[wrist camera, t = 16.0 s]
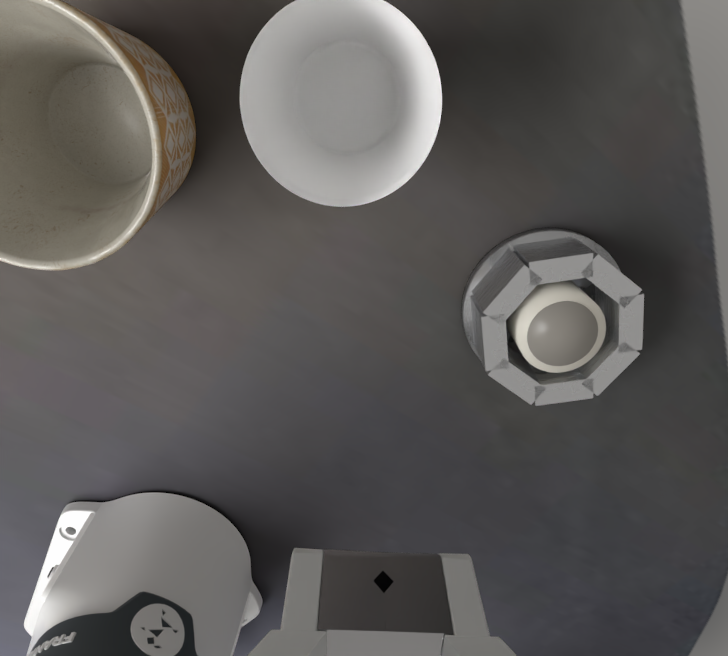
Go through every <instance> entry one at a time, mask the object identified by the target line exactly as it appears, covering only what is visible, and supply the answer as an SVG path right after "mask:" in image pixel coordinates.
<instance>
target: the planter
mask: <svg viewBox="0 0 728 656" xmlns="http://www.w3.org/2000/svg"><path fill="white" fill-rule="evenodd" d="M195 145H196V127H195V119H194V114H193V110H192V107H191V103H190V101H189V98H188V95H187V93H186V91H185V89H184V87H183V85H182V83H181V82H180V80H179V78H178V77H177V75H176V74H175V72H174V71H173V70H172V68H171V67H170V66H169V65H168V63H167V62H166V61H165V60H164V59H163V58H162V57H161V56H160V55H159V54H158V53H157V52H156V51H155V50H153V49H152V48H151V47H150V46H148V45H147V44H145V43H144V42H142V41H141V40H139V39H137V38H136V37H134V36H132V35H130V34H128V33H126V32H124V31H122V30H120V29H118V28H116V27H114V26H112V25H110V24H108V23H106V22H104V21H102V20H100V19H98V18H95V17H93V16H91V15H89V14H87V13H85V12H83V11H81V10H79V9H77V8H75V7H73V6H71V5H69V4H67V3H65V2H63V1H61V0H0V261H3V262H6V263H9V264H12V265H16V266H20V267H24V268H30V269H37V270H67V269H74V268H79V267H83V266H87V265H90V264H93V263H95V262H98V261H100V260H102V259H104V258H106V257H108V256H110V255H112V254H113V253H115V252H116V251H118V250H119V249H120V248H122V247H123V246H124V245H125V244H126V243H128V242H129V241H130V240H131V239H132V238H133V236H134V235H135V234H136V233H137V232H138V231H139V230H140V229H141V228H142V227H143V226H144V225H145V224H146V223H147V222H148V221H149V220H150V219H151V217H152V216H153V215H154V214H155V213H156V212H157V211H158V210H159V209H160V208H161V207H162V206H163V205H164V204H165V203H166V202H167V201H168V200H169V198H170V197H171V196H172V195H173V194H174V193H175V192H176V191H177V190H178V188H179V187H180V186H181V184H182V183H183V181H184V180H185V178H186V176H187V174H188V172H189V170H190V167H191V164H192V161H193V157H194V152H195Z"/></svg>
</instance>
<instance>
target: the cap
mask: <svg viewBox="0 0 728 656" xmlns="http://www.w3.org/2000/svg"><path fill="white" fill-rule="evenodd" d="M506 327H507V329H508V331H509V333H510V334H511V336H512V338H513V339H514V341H515V343H516V345H517V346H518V348H519V350H520V351H521V353H522V355H523V356H524V358H525V359H526V360H527V361H528V362H529V363H530V364H531V365H533V366H534V367H536V368H538V369H540V370H543V371H546V372H553V373H560V372H567V371H571V370H574V369H576V368H578V367H580V366H582V365H584V364H585V363H587V362H588V361H589V360H590V359H592V358H593V357H594V355H595V354H596V353H597V352H598V350H599V349H600V347H601V345H602V343H603V341H604V338H605V333H606V321H605V317H604V314H603V312H602V310H601V309H600V307H599V306H598V305H597V304H596V303H595V302H594V301H593V300H592V299H591V298H590V297H589V296H588V295H587V294H586V293H585V292H584V291H582V290H581V289H580V288H579V287H578V286H577V285H576V284H575V283H574V282H573V281H572V280H567V281H560V282H553V283H546V284H539V285H537V286H536V287H535V288H534V289H533V290H532V292H531V293H530V294H529V295H528V296H527V297H526V298H525V299H524V301H523V302H522V303H521V304H520V305H519V306H518V307H517V308H516V309H515V311H514V312H513V313H512V314H511V315H510V316H509V317H508V318H507V320H506Z"/></svg>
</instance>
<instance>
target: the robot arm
mask: <svg viewBox="0 0 728 656" xmlns="http://www.w3.org/2000/svg"><path fill="white" fill-rule="evenodd" d="M72 527H73V528H72ZM74 528H75V529H74ZM262 603H263V600H262V597H261V595H260V593H259V591H258V589H257V587H256V586H255V584H254V582H253V581H252V577H251V560H250V554H249V551H248V548H247V545H246V543H245V541H244V539H243V537H242V536H241V534H240V533H239V531H238V530H237V529H236V528H235V526H234V525H233V524H232V523H231V522H230V521H229V520H228V519H226V518H225V517H224V516H223V515H222V514H220V513H219V512H217V511H216V510H214V509H213V508H211V507H209V506H207V505H205V504H203V503H201V502H199V501H196V500H194V499H191V498H188V497H184V496H180V495H175V494H169V493H155V492H152V493H139V494H133V495H129V496H125V497H122V498H119V499H116V500H113V501H108V502H103V503H102V502H73V503H70V504H68V505H66V506H65V508H64V509H63V511H62V513H61V515H60V517H59V520H58V523H57V526H56V529H55V532H54V535H53V538H52V541H51V544H50V547H49V550H48V553H47V556H46V559H45V562H44V565H43V567H42V570H41V573H40V576H39V579H38V582H37V585H36V588H35V591H34V594H33V597H32V600H31V603H30V606H29V609H28V612H27V615H26V618H25V621H24V627H25V629H26V631H27V632H28V633H29V634H30V635H31V636H32V639H31V642H30V645H29V649H28V652H27V656H233V653H234V650H235V647H236V643H237V640H238V637H239V633H240V630H241V627H243V626H244V625H246V624H247V623H248V622H250V621H251V620H253V619H254V618H255V617H256V616H258V614H259V613H260V610H261V607H262ZM247 656H517V655H516V654H515V653H514V652H513V651H512V650H511V649H510V648H509V647H508V646H507V645H506V643H505V642H504V641H503V640H502V639H501V638H500V637H490V634H489V630H488V626H487V621H486V617H485V613H484V609H483V605H482V600H481V596H480V592H479V588H478V584H477V579H476V575H475V571H474V567H473V563H472V558H471V557H470V556H469V555H468V554H446V553H439V555H438V554H436V553H398V552H367V551H351V550H334V549H324V550H321V549H306V548H294V550H293V553H292V556H291V562H290V569H289V576H288V583H287V589H286V596H285V603H284V609H283V616H282V623H281V630H270V632H269V633H268V634H267V635H266V636H265V637H264V638H263V639H262V640H261V641H260V642H259V643H258V645H257V646H256V647H255V648H254V649H253V650H252V651H251V652H250V653H249V654H248V655H247Z"/></svg>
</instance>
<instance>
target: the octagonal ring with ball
mask: <svg viewBox="0 0 728 656" xmlns="http://www.w3.org/2000/svg"><path fill="white" fill-rule="evenodd" d="M567 280H572V281H573V282H574V283H575V284H576V285H577V286H578V287H579V288H580V289H581V290H582V291H584V292H585V293H586V294H587V295H588V296H589V297H590V298H591V299H592V300H593V301H594V302H595V303H596V304H597V305H598V306H599V307H600V309H601V310H602V312H603V314H604V317H605V321H606V333H605V338H604V341H603V343H602V345H601V347H600V349H599V350H598V352H597V353H596V354H595V355H594V357H593V358H592V359H590V360H589V361H588V362H587V363H585V364H584V365H582V366H580V367H578V368H576V369H574V370H571V371H567V372H560V373H553V372H546V371H543V370H540V369H538V368H536V367H534V366H533V365H531V364H530V363H529V362H528V361H527V360H526V359H525V358H524V356H523V355H522V353H521V351H520V350H519V348H518V346H517V345H516V343H515V341H514V339H513V338H512V336H511V334H510V333H509V331H508V329H507V327H506V320H507V318H508V317H509V316H510V315H511V314H512V313H513V312H514V311H515V309H516V308H517V307H518V306H519V305H520V304H521V303H522V302H523V301H524V299H525V298H526V297H527V296H528V295H529V294H530V293H531V292H532V290H533V289H534V288H535V287H536V286H537V285H539V284H546V283H553V282H560V281H567ZM641 291H642V289H641V288H640V287H638V286H637V285H636V284H635V283H633V282H632V281H631V280H630V279H628V278H627V277H626V276H625V275H623V274H622V273H621V271H620V269H619V267H618V265H617V264H616V262H615V260H614V259H613V258H612V257H611V255H610V254H609V253H608V252H607V251H606V250H605V249H604V248H603V247H601V246H600V245H598V244H597V243H595V242H594V241H593V240H591V239H590V238H588V237H586V236H584V235H582V234H580V233H577V232H574V231H571V230H567V229H561V228H538V229H533V230H528V231H525V232H522V233H519V234H516V235H514V236H512V237H510V238H508V239H506V240H504V241H503V242H501V243H500V244H498V245H496V246H495V247H494V248H493V249H492V250H490V251H489V252H488V253H487V254H486V255H485V256H484V257H483V258H482V259H481V260H480V262H479V263H478V264H477V266H476V267H475V268H474V270H473V272H472V273H471V275H470V277H469V279H468V281H467V284H466V286H465V289H464V293H463V297H462V305H461V317H462V323H463V328H464V331H465V334H466V337H467V339H468V341H469V343H470V345H471V347H472V349H473V351H474V352H475V354H476V355H477V357H478V358H479V359H480V360H481V362H482V364H483V366H484V369H485V371H486V372H487V374H488V375H489V376H490V377H492V378H493V379H494V380H496V381H497V382H499V383H500V384H502V385H503V386H505V387H506V388H507V389H509V390H510V391H512V392H513V393H515V394H516V395H517V396H519V397H520V398H522V399H523V400H525V401H526V402H528V403H529V404H530V405H531V404H532V403H533V402H534V404H535V406H538V405H546V404H553V403H561V402H568V401H576V400H583V399H591V398H593V393H594V394H596V395H597V396H598V395H599V394H600V393H601V392H602V391H603V390H604V389H605V388H606V387H607V386H608V385H609V384H610V383H611V382H612V381H613V380H614V379H615V378H616V377H617V376H618V375H619V374H620V373H621V372H622V371H623V370H624V369H625V368H626V367H628V366H629V365H630V364H631V363H632V362H633V361H634V360H635V359H636V358H637V357H638V356H639V355H640V353H639V352H638V351H637V350H642V342H643V314H644V293H642V292H641Z"/></svg>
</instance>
